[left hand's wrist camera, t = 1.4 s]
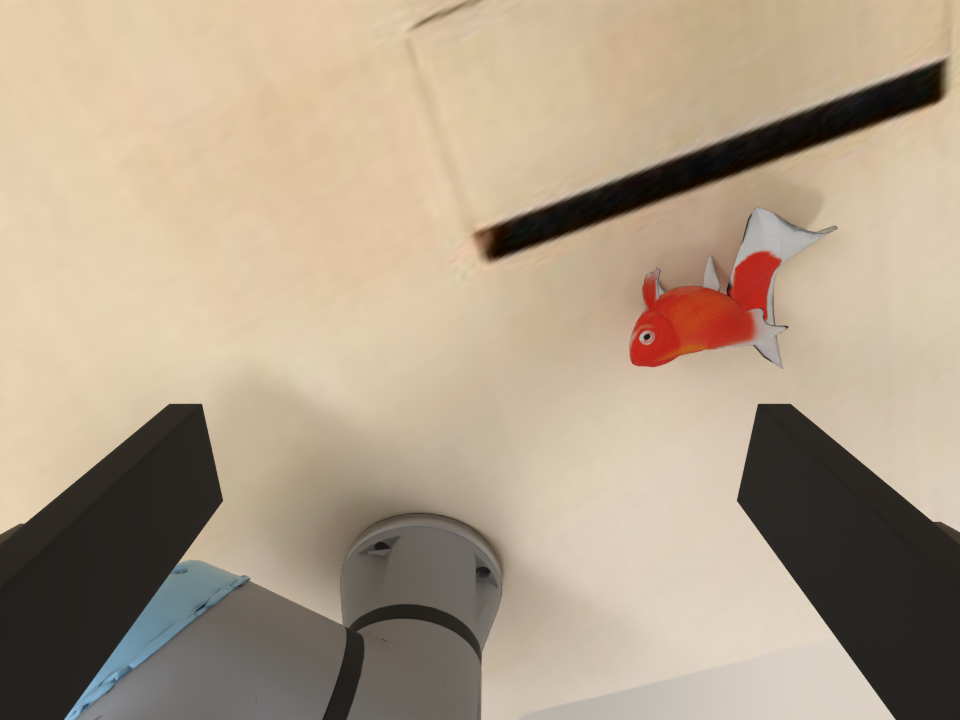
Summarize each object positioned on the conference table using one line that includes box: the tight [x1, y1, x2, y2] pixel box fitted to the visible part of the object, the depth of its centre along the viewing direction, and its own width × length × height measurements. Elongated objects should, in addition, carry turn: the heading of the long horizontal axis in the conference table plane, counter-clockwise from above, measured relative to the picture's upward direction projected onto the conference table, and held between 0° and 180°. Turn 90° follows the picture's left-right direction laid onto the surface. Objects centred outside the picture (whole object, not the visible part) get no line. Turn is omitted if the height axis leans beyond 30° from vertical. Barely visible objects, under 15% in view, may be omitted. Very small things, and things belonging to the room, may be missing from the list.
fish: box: [629, 207, 838, 369], centre depth 36 cm, size 11×16×10 cm
